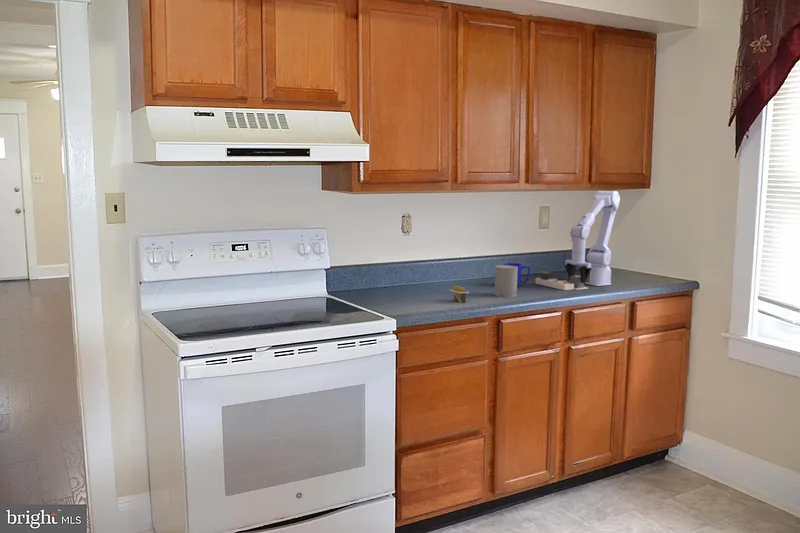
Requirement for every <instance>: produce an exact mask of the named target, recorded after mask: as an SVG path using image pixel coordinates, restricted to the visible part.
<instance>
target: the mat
mask: <svg viewBox="0 0 800 533" xmlns="http://www.w3.org/2000/svg"><path fill="white" fill-rule="evenodd" d="M587 289H589V287H587V286H584V288H574V289H573V290H576V291H577V290H578V291H579V290H587Z"/></svg>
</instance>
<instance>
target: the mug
mask: <svg viewBox="0 0 800 533" xmlns="http://www.w3.org/2000/svg"><path fill="white" fill-rule="evenodd" d="M503 265H512V266H517V267H518V270H517V287H519V285H520V284H521V283H523V284H524V283H527V282H528V281H529V278H530V274H531V272H530V271H531V267H530V266H525V265H522V264H521V263H516V262H507V263H503ZM524 268H525V269H528V271H527V277H526V279H525V280H524V281H523V280H522V270H523V269H524Z"/></svg>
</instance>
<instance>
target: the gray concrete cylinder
mask: <svg viewBox="0 0 800 533" xmlns="http://www.w3.org/2000/svg"><path fill="white" fill-rule="evenodd" d="M517 270H518V267H517V266H512V265H504V264H500V265H495V270H494V271H495V272H494V296H495V295H496V296H495V297H499V296H501V298H514V297H518V295H517V294H518V286H517Z"/></svg>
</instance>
